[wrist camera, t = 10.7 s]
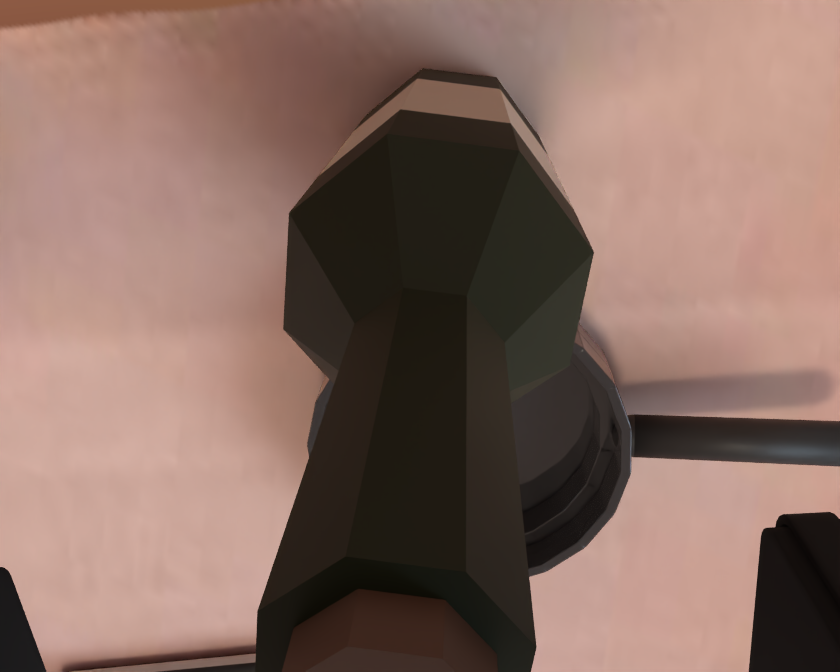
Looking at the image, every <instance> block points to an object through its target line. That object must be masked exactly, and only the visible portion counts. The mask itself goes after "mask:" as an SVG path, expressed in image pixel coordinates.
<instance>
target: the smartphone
mask: <svg viewBox="0 0 840 672" xmlns="http://www.w3.org/2000/svg"><path fill="white" fill-rule="evenodd" d="M255 662H256V654H246V655H236V656H226V657H215V658H205V659H195V660H184V661H174V662H164V663H153V664H143V665H133V666H122V667H112V668H102V669H91V670H81V671H71V672H255Z"/></svg>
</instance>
